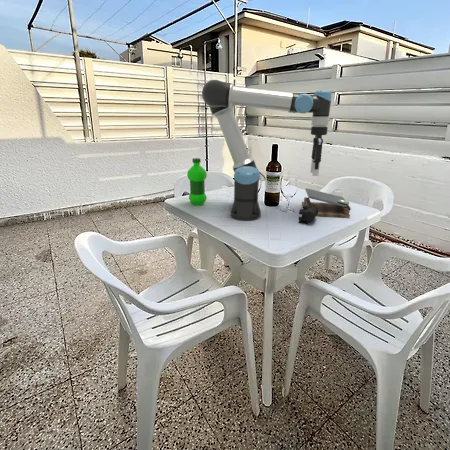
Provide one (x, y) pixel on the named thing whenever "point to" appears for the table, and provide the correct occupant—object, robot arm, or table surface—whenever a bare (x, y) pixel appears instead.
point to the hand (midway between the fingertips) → (314, 174)
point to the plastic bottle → (197, 183)
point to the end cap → (308, 214)
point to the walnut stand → (328, 209)
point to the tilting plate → (327, 197)
